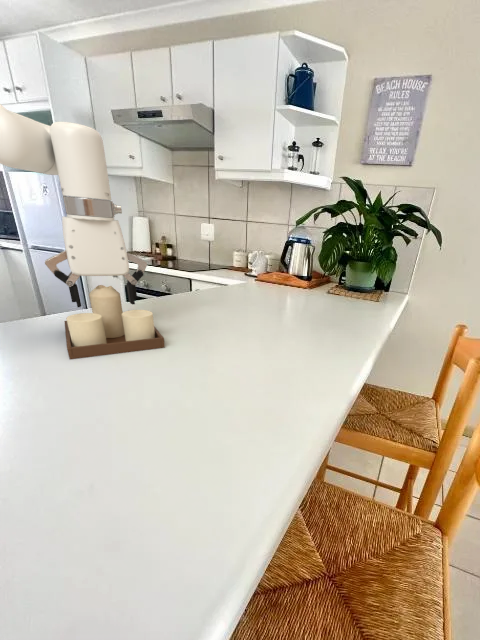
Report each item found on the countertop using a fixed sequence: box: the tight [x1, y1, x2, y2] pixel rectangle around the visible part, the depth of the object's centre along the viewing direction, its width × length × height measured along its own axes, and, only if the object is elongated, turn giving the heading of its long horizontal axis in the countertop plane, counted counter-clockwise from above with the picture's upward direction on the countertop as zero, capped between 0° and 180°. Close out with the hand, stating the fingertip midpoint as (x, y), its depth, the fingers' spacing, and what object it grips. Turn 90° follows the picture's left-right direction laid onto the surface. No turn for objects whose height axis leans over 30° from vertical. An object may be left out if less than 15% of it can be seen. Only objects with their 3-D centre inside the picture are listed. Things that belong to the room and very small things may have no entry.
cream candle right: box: [122, 309, 155, 341], centre depth 65 cm, size 6×6×6 cm
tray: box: [63, 320, 166, 360], centre depth 67 cm, size 16×17×3 cm
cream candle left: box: [65, 312, 107, 347], centre depth 60 cm, size 6×6×6 cm
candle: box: [88, 284, 125, 338], centre depth 67 cm, size 6×6×10 cm
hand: (106, 304), depth 66 cm, fingers open, 9 cm apart
